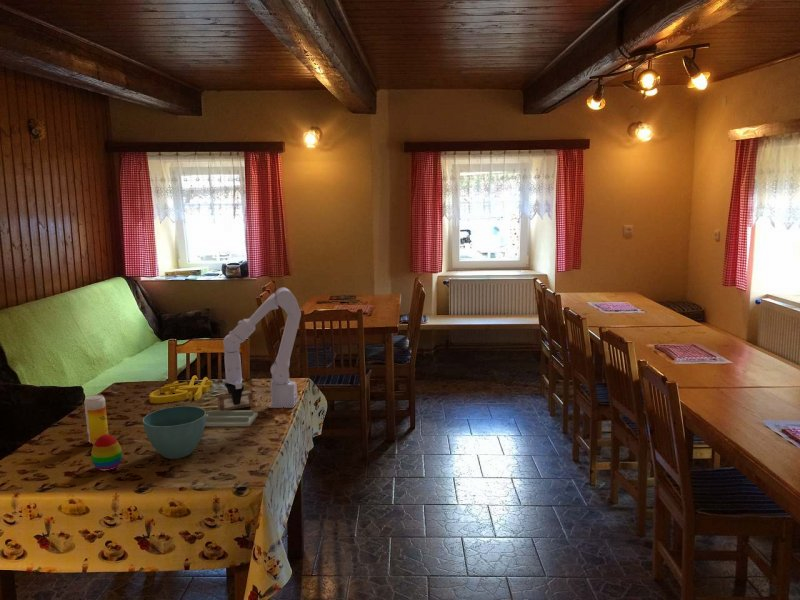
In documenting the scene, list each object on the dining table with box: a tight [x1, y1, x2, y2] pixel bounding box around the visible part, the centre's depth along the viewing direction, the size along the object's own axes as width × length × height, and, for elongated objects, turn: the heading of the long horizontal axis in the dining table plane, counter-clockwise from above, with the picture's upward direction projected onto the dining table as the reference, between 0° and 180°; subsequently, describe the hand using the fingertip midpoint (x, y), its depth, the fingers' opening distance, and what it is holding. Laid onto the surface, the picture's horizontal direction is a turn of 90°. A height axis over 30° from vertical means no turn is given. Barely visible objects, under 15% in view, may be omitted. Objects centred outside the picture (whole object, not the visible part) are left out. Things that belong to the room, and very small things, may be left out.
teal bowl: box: [142, 405, 207, 460], centre depth 199 cm, size 18×18×12 cm
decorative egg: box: [90, 434, 123, 470], centre depth 190 cm, size 8×8×10 cm
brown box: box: [217, 389, 254, 411], centre depth 239 cm, size 12×4×5 cm, turn 118°
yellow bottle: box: [83, 394, 109, 445], centre depth 210 cm, size 6×6×15 cm
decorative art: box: [148, 374, 214, 404], centre depth 264 cm, size 21×3×30 cm
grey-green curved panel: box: [205, 409, 259, 427], centre depth 228 cm, size 18×11×2 cm, turn 88°
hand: (235, 402), depth 239 cm, fingers closed on brown box, 4 cm apart
